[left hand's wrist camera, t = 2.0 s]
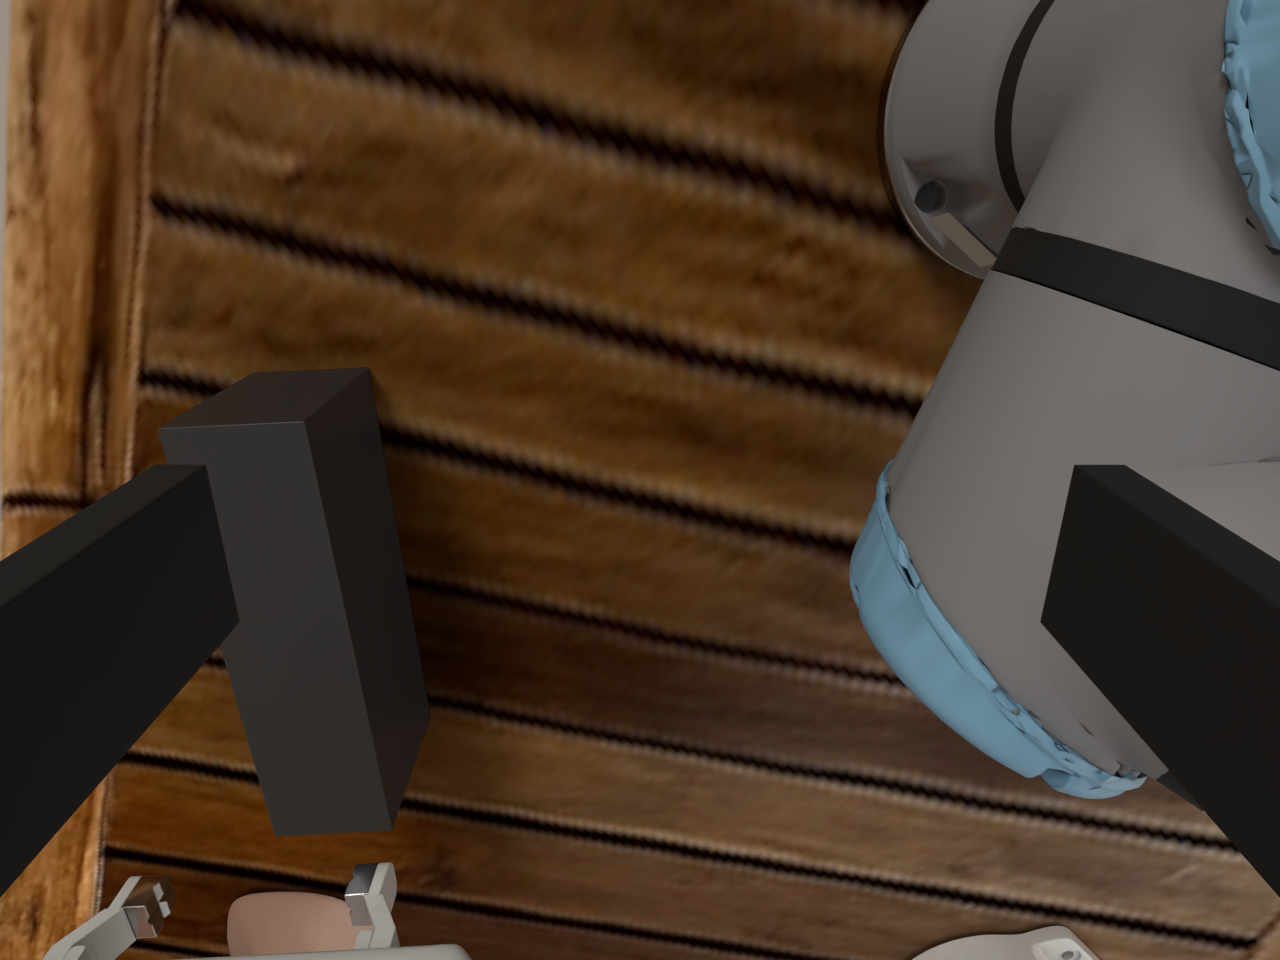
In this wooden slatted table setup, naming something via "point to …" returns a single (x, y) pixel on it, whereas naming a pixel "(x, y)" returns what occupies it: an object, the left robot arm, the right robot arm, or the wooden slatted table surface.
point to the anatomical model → (289, 924)
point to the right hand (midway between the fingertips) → (267, 879)
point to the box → (313, 594)
